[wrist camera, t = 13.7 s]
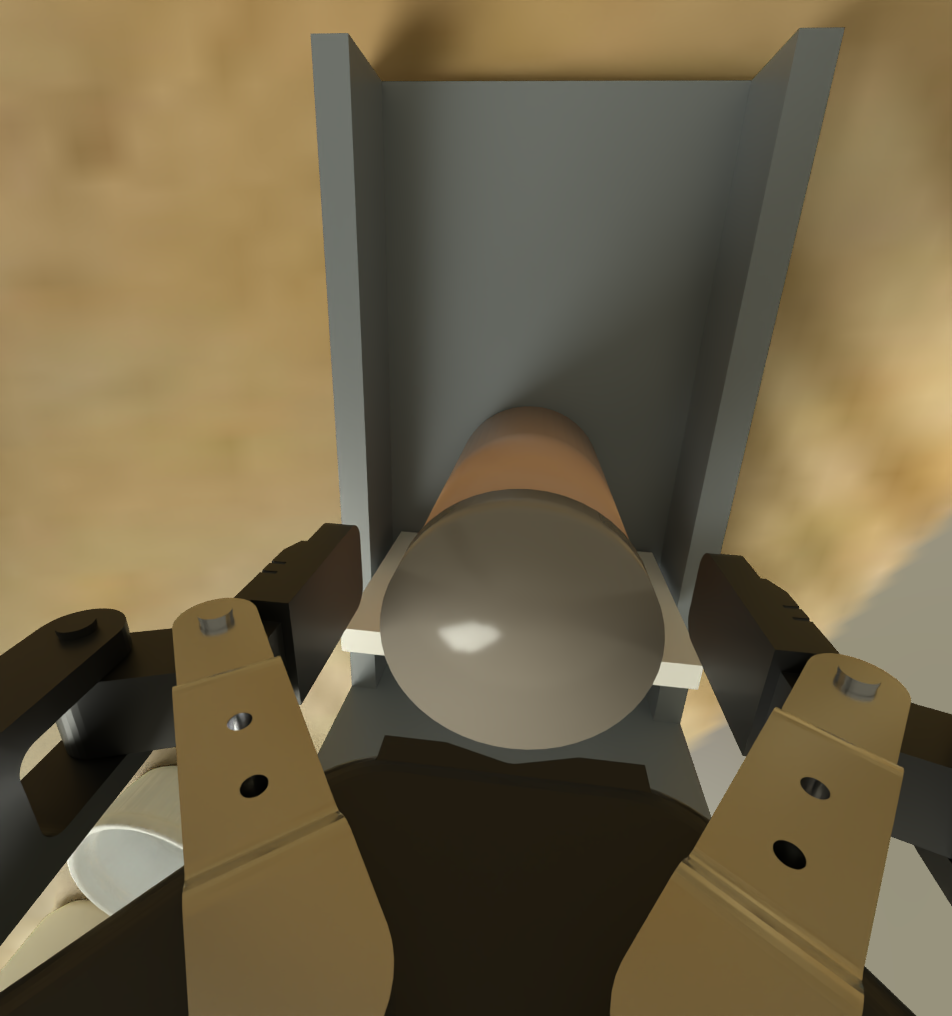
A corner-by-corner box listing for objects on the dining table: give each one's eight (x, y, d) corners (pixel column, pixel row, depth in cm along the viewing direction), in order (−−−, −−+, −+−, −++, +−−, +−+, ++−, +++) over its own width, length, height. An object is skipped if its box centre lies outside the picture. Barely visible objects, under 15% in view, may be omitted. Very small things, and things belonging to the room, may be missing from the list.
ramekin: (299, 837, 30) (262, 917, 26) (199, 877, 33) (151, 956, 29) (197, 733, 28) (139, 803, 24) (98, 785, 31) (32, 857, 27)
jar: (457, 399, 19) (374, 500, 9) (610, 407, 19) (690, 523, 9) (455, 535, 21) (384, 733, 11) (592, 546, 21) (641, 763, 11)
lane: (356, 88, 16) (186, -115, 9) (780, 87, 15) (1036, -150, 7) (378, 652, 25) (300, 815, 17) (656, 683, 23) (715, 874, 15)
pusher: (401, 531, 21) (340, 628, 15) (652, 552, 20) (703, 666, 14) (401, 548, 22) (341, 651, 15) (648, 570, 21) (697, 689, 14)
